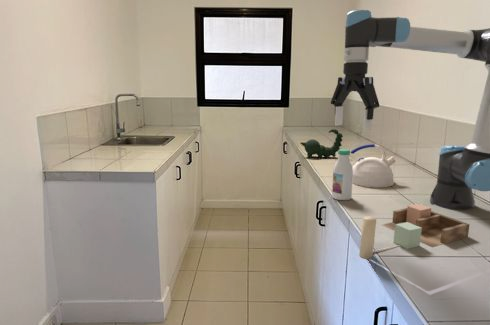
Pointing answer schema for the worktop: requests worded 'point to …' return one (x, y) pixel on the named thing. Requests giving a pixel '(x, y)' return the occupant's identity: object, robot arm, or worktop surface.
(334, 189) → the milk bottle
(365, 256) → the green headed mallet
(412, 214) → the terracotta block
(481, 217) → the worktop surface
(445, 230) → the lane shelf
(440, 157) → the robot arm
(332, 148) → the toy figurine
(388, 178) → the kettle
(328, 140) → the worktop surface
